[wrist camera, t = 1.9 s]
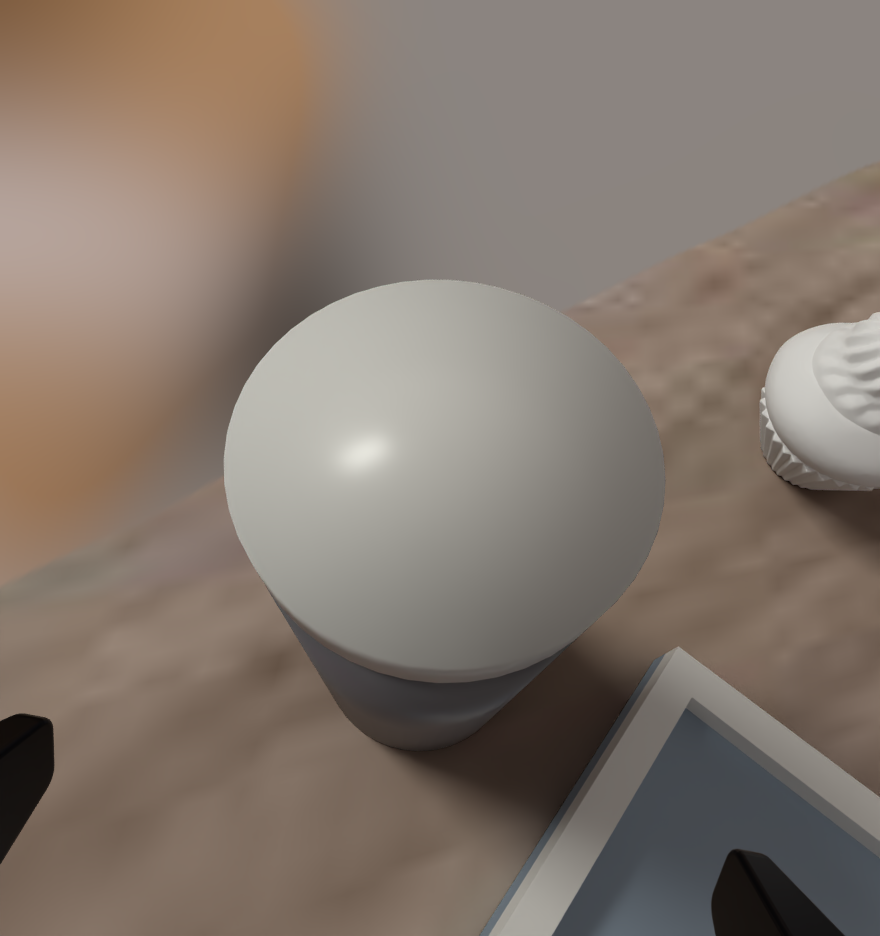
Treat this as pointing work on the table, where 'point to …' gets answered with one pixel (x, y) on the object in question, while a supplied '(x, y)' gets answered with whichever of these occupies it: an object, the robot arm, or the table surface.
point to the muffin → (825, 408)
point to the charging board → (695, 819)
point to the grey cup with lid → (441, 497)
